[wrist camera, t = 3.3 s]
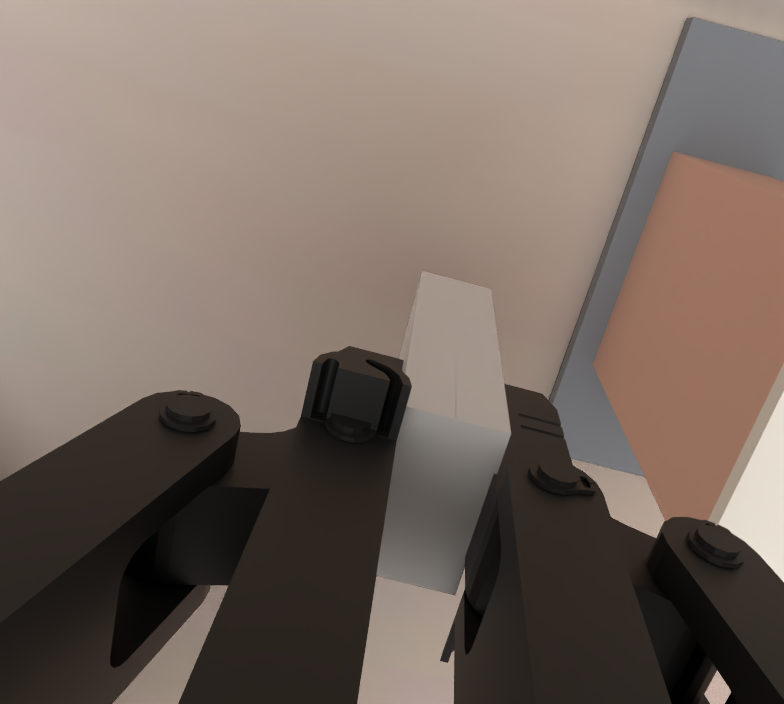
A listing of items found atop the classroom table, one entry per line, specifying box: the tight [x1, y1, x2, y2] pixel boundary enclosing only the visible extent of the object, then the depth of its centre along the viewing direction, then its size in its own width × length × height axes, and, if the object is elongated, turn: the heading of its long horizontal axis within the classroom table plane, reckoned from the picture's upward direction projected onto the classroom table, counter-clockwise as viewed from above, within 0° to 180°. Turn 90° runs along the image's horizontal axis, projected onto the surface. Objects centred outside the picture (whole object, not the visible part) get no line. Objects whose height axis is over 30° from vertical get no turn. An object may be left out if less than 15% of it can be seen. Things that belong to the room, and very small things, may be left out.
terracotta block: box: [592, 151, 784, 582], centre depth 24 cm, size 4×9×14 cm, turn 166°
